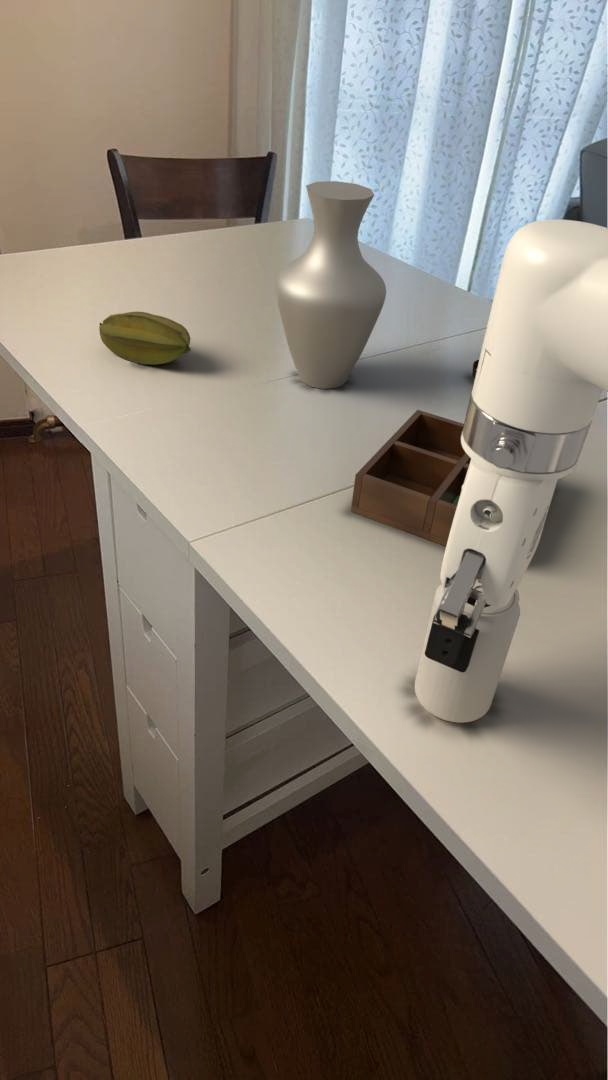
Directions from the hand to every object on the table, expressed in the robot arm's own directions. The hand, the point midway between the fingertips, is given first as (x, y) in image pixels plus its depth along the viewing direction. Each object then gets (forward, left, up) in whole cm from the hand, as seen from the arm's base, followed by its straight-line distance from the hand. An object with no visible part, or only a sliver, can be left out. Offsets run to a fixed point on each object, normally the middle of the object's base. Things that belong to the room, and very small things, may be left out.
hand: (467, 623), depth 61 cm
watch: (+15, -60, -9) cm, 62 cm away
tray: (+10, -28, -8) cm, 31 cm away
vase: (+36, -46, -9) cm, 59 cm away
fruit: (+59, -36, -9) cm, 69 cm away
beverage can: (0, 0, -9) cm, 9 cm away
